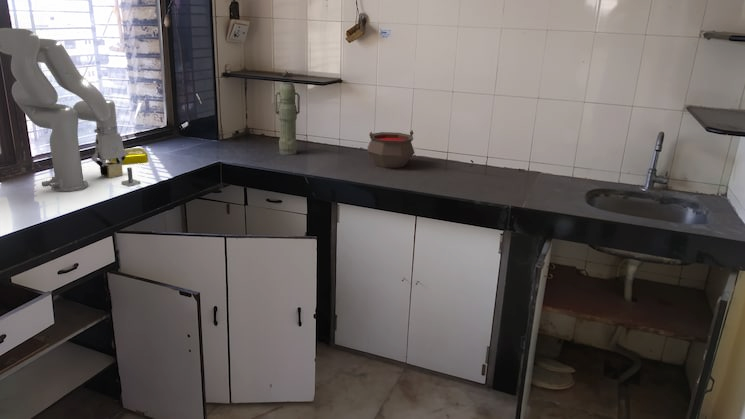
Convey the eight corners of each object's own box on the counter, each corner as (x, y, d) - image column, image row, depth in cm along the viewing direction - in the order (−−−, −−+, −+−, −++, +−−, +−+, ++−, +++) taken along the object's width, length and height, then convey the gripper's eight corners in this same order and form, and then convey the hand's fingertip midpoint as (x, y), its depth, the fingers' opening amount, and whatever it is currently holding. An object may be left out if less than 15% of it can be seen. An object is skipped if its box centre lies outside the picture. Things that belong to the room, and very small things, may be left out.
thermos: (301, 154, 281) (301, 83, 270) (277, 155, 278) (276, 83, 267) (298, 151, 289) (298, 81, 278) (275, 151, 286) (274, 81, 275)
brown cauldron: (401, 157, 284) (403, 125, 279) (423, 168, 264) (426, 134, 258) (357, 160, 275) (358, 127, 270) (376, 172, 255) (378, 136, 249)
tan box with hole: (109, 177, 229) (108, 166, 228) (101, 175, 232) (99, 163, 231) (122, 175, 234) (121, 163, 232) (114, 172, 237) (113, 161, 236)
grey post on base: (129, 186, 220) (127, 170, 217) (121, 183, 222) (119, 168, 220) (140, 183, 224) (138, 167, 221) (132, 181, 226) (131, 165, 224)
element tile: (142, 156, 268) (141, 146, 266) (149, 163, 256) (148, 153, 254) (108, 159, 260) (107, 149, 259) (113, 166, 248) (112, 156, 247)
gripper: (92, 134, 219) (97, 179, 224) (132, 129, 232) (135, 171, 238) (81, 132, 223) (86, 176, 228) (121, 127, 236) (125, 168, 242)
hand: (111, 173), depth 233 cm, fingers closed on tan box with hole, 6 cm apart
